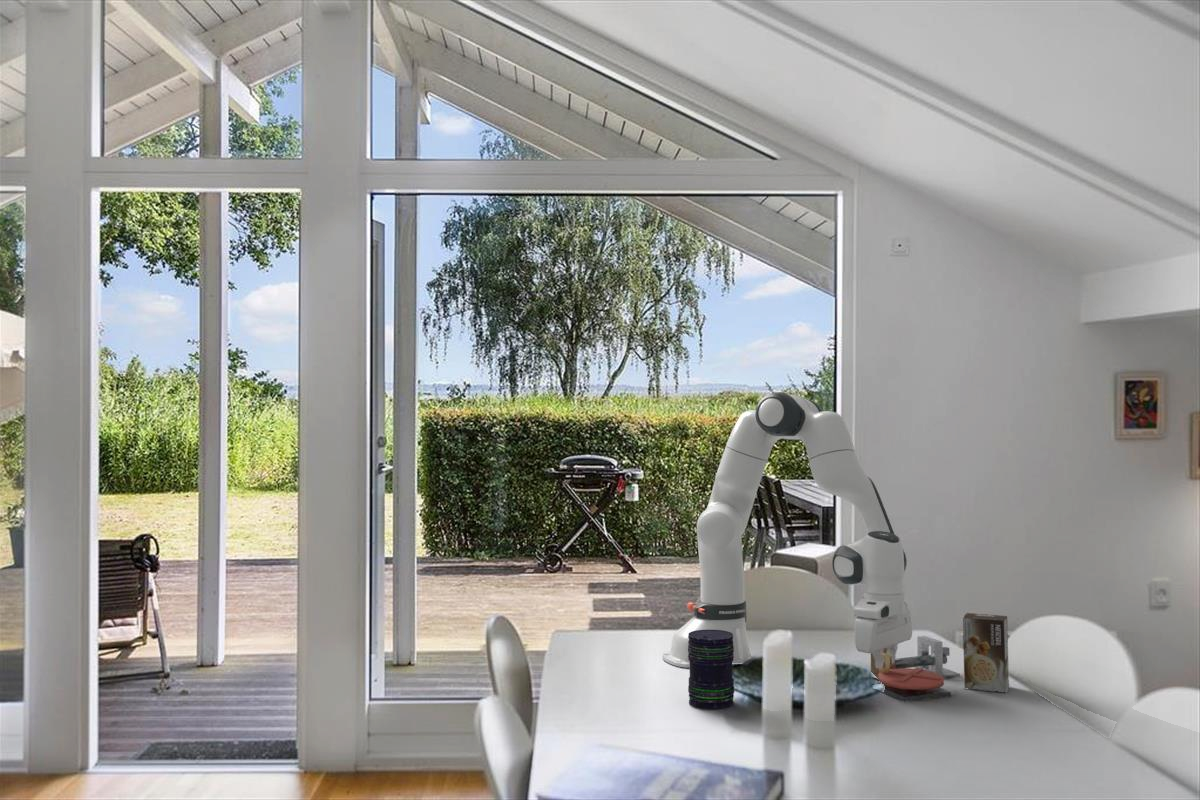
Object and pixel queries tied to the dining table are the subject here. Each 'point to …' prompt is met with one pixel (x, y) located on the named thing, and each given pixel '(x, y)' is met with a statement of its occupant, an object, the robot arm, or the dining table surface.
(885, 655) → the handwheel
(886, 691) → the wheel base
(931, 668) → the eye bracket
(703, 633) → the storage jar
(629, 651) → the dining table surface
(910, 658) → the hook
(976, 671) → the coffee box
